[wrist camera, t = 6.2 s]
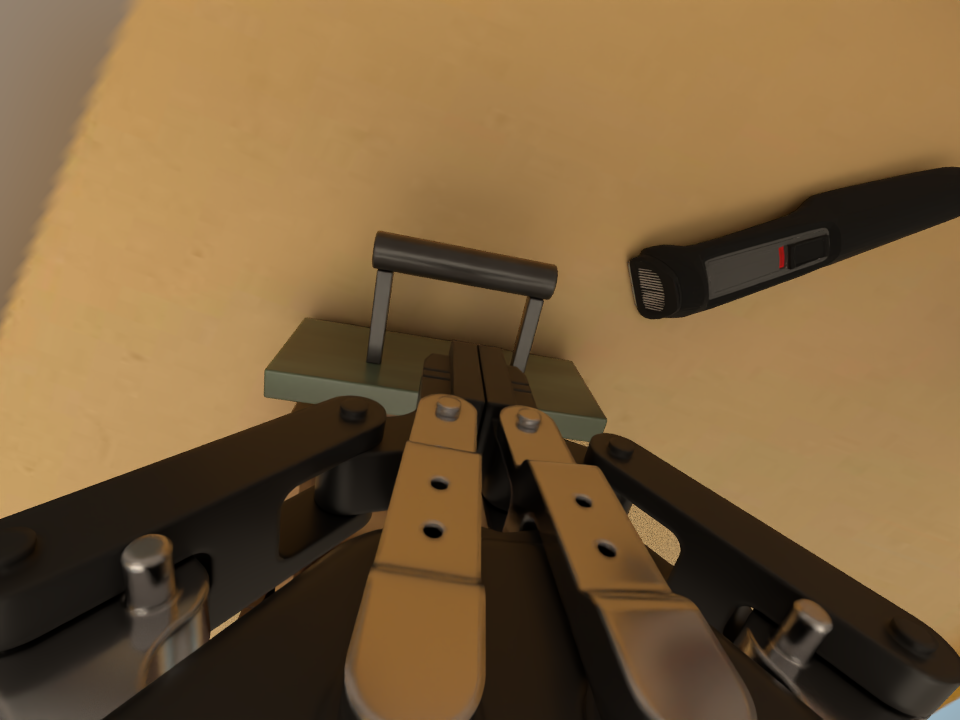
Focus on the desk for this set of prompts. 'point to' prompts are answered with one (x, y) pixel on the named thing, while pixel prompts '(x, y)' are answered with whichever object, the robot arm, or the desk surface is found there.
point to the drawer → (425, 345)
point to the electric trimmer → (791, 243)
